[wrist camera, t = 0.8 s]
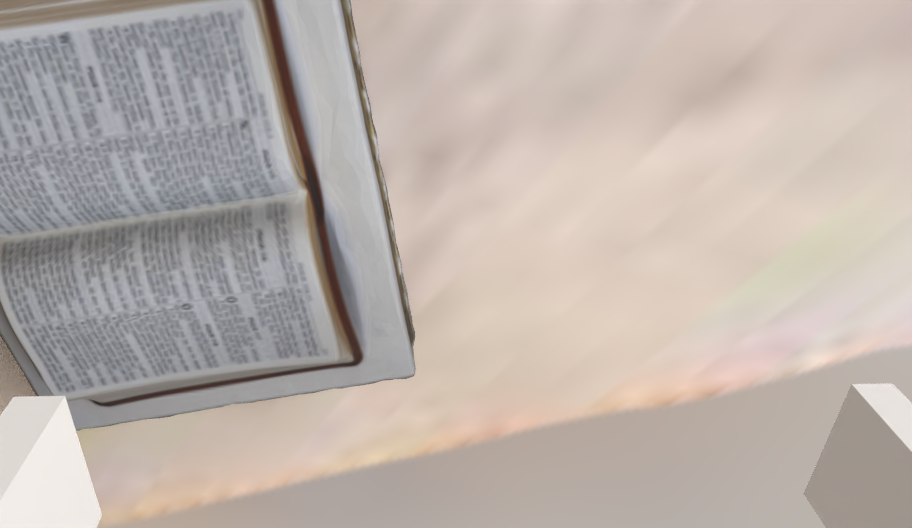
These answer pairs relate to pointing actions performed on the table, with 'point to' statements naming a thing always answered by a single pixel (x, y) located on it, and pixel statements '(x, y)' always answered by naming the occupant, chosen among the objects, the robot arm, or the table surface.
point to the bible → (192, 206)
